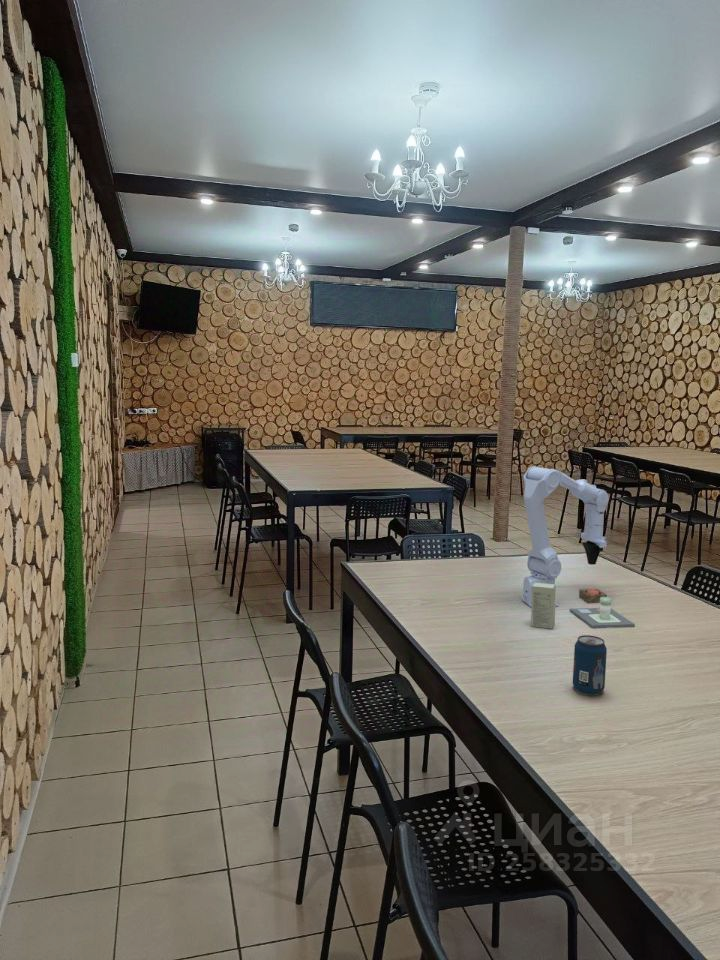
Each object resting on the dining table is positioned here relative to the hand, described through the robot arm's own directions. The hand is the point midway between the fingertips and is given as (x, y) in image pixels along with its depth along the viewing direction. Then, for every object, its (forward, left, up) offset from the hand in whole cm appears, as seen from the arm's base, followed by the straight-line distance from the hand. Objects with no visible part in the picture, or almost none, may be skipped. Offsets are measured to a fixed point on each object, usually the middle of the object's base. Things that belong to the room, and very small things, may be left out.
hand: (591, 564), depth 225 cm
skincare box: (-28, -28, -11) cm, 41 cm away
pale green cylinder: (-8, -26, -9) cm, 29 cm away
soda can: (-34, -70, -11) cm, 79 cm away
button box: (-2, -6, -10) cm, 12 cm away
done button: (-2, -6, -11) cm, 13 cm away
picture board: (-8, -24, -10) cm, 27 cm away
